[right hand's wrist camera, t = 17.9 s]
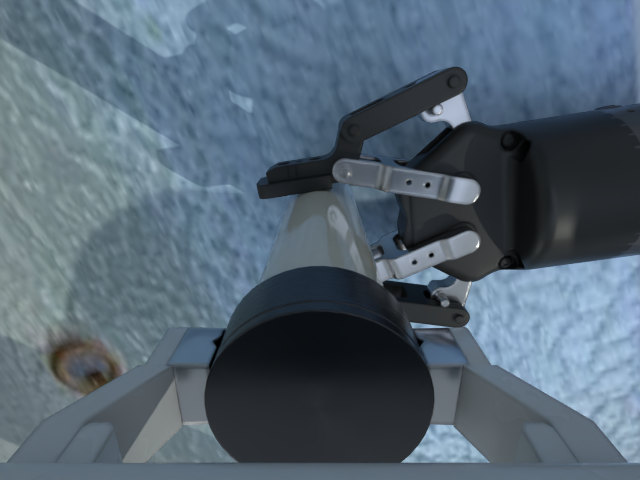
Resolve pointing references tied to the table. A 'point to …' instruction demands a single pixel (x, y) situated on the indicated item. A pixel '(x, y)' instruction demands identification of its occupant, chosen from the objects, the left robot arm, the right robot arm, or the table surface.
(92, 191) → the table surface
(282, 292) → the lid
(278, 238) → the grey cylinder
